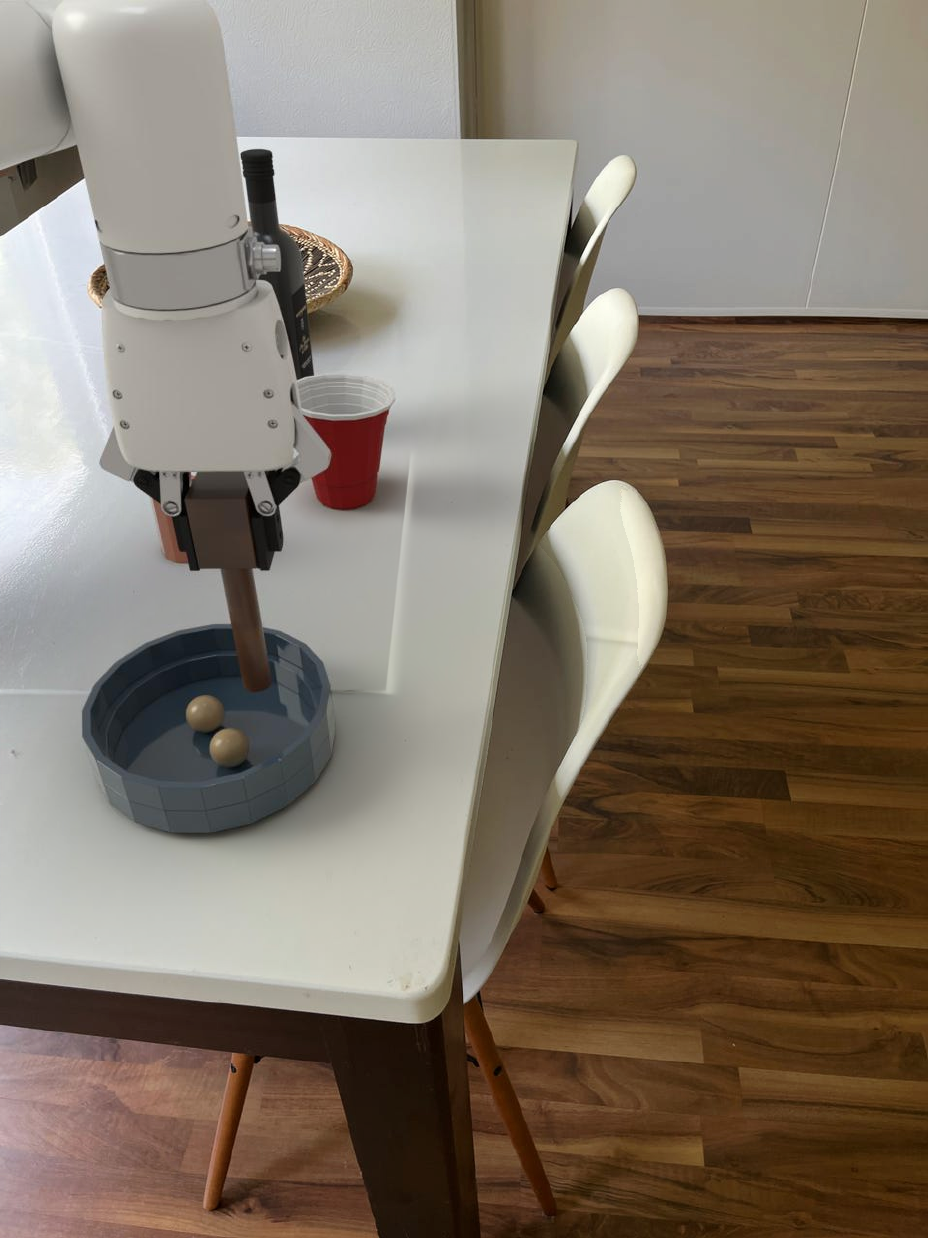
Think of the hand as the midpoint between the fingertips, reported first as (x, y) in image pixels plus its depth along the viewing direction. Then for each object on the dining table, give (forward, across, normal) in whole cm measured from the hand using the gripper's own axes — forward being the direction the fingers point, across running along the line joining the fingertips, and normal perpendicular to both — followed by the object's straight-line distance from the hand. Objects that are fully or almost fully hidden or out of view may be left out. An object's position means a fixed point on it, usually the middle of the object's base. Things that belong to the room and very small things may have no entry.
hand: (234, 556), depth 63 cm
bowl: (+17, +4, 0) cm, 18 cm away
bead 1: (+15, +5, -2) cm, 16 cm away
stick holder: (+17, +12, -26) cm, 33 cm away
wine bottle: (+17, +6, -50) cm, 53 cm away
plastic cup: (+17, -2, -36) cm, 40 cm away
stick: (+11, 0, 0) cm, 11 cm away
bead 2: (+15, +2, +2) cm, 15 cm away
